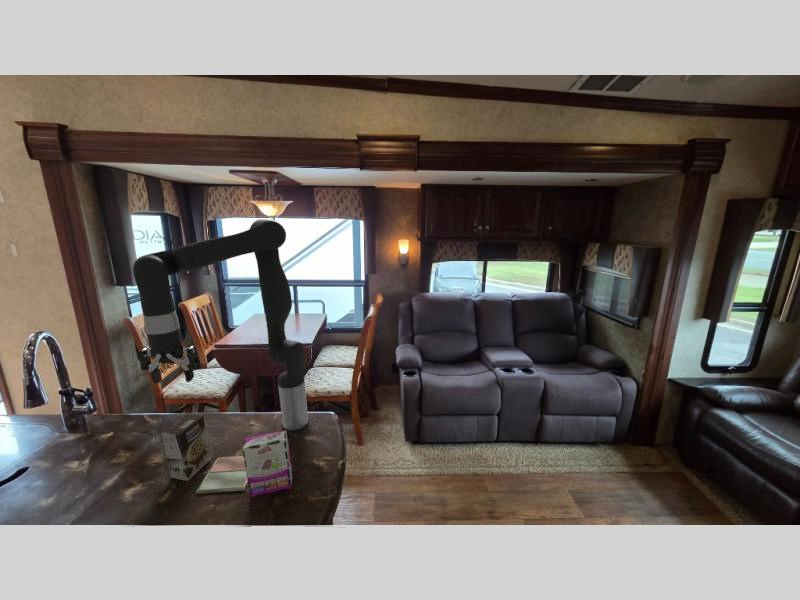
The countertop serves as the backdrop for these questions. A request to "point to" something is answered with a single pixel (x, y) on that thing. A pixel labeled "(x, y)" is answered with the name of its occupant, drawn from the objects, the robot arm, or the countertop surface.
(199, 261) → the robot arm
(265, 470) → the candy bar box
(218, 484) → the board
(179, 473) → the coffee box
